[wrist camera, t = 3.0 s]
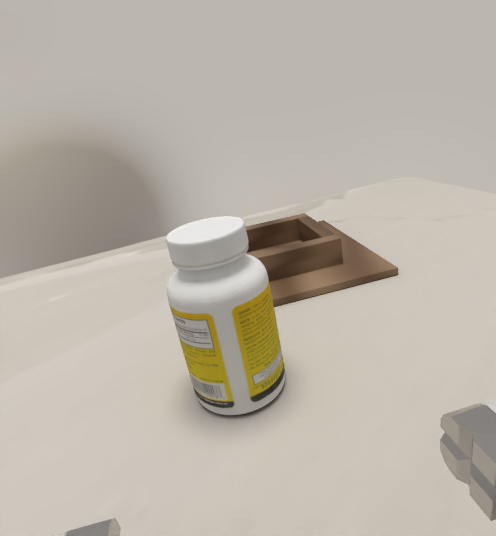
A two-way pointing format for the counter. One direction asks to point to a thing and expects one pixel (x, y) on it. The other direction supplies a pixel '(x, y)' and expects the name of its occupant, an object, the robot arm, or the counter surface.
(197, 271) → the supplement bottle
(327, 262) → the walnut can holder
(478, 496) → the robot arm
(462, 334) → the counter surface
